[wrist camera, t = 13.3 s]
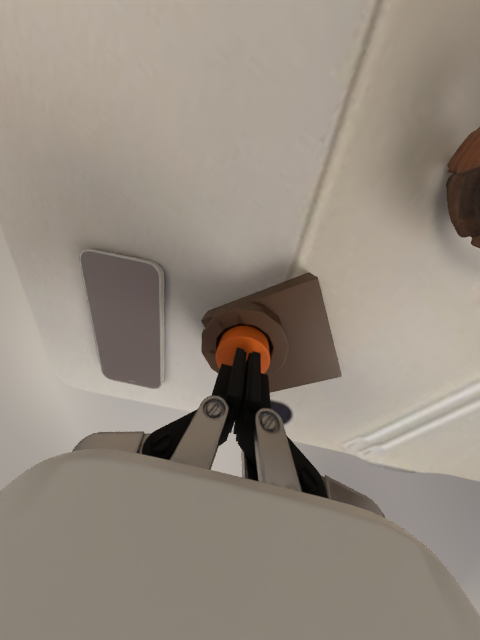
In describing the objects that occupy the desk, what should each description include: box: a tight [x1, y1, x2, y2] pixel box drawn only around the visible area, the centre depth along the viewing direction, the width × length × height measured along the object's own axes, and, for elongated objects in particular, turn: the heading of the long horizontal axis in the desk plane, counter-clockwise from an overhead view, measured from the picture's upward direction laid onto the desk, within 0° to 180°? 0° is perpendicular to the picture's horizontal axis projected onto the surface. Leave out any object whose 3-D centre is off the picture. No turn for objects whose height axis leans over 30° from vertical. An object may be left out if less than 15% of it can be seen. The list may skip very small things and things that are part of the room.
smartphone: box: [79, 249, 164, 389], centre depth 18 cm, size 7×1×15 cm
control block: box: [201, 273, 341, 392], centre depth 16 cm, size 10×10×4 cm
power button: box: [216, 326, 270, 374], centre depth 13 cm, size 4×4×2 cm
